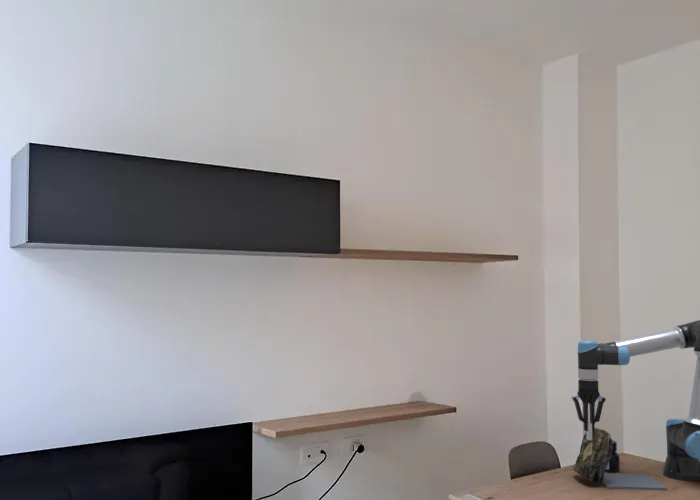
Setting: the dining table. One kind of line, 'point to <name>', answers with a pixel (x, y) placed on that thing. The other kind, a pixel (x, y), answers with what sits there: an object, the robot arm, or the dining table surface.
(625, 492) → the dining table surface
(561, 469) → the dining table surface
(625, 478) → the rubber mat
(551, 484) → the dining table surface
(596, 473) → the stone block
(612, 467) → the ink bottle
